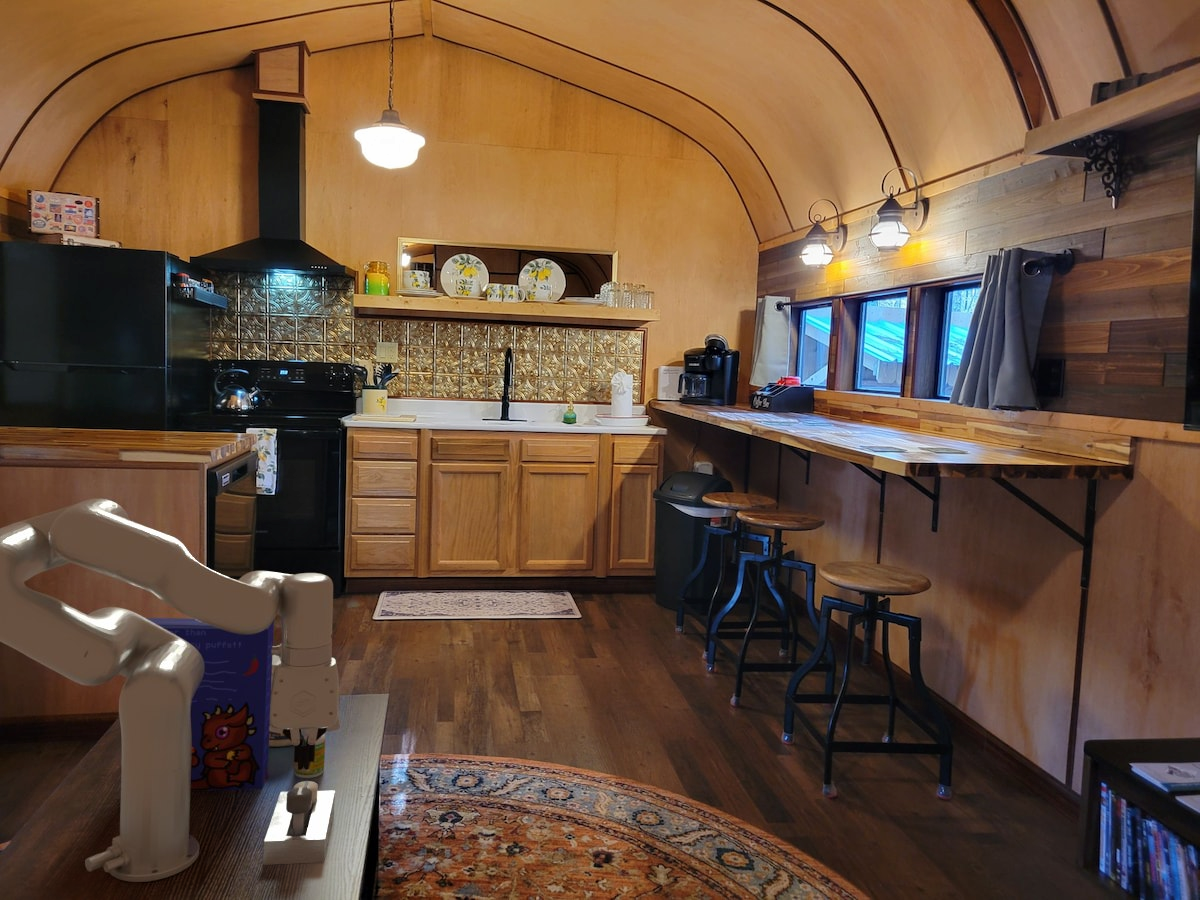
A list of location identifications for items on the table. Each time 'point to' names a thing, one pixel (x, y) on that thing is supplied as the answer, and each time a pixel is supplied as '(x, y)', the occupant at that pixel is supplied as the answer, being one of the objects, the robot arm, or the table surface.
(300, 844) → the mount
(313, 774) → the supplement bottle
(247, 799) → the table surface
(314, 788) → the cream knob
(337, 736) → the table surface
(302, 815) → the charcoal knob
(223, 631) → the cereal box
